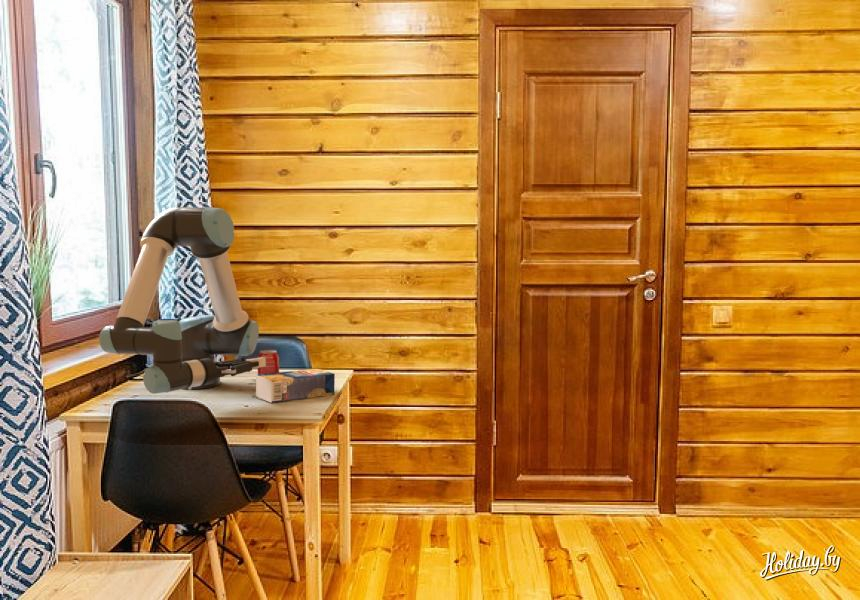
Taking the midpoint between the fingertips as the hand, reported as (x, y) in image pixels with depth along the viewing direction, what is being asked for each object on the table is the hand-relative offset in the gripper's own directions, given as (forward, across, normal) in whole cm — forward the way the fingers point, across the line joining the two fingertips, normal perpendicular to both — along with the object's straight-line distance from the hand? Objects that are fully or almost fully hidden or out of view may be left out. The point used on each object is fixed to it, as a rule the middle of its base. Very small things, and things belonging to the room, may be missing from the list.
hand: (264, 361), depth 230 cm
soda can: (+13, -14, -12) cm, 23 cm away
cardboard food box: (-1, +1, -8) cm, 8 cm away
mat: (+9, 0, -12) cm, 15 cm away
